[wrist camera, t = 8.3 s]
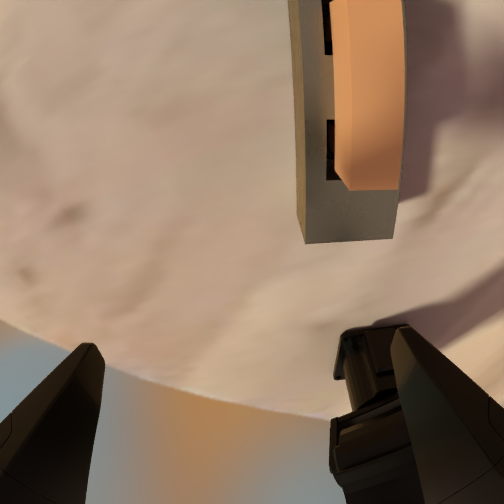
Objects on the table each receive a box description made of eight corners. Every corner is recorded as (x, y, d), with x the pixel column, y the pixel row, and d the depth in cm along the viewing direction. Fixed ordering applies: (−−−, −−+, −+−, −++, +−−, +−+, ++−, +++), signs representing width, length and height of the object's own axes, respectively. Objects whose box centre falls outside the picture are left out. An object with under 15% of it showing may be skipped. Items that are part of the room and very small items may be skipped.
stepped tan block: (358, 151, 17) (398, 189, 13) (321, 152, 17) (349, 190, 13) (356, 14, 13) (401, -1, 8) (315, 12, 13) (346, -8, 8)
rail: (373, 211, 20) (392, 238, 17) (296, 214, 20) (305, 243, 17) (372, -41, 11) (397, -57, 8) (283, -49, 11) (290, -71, 8)
